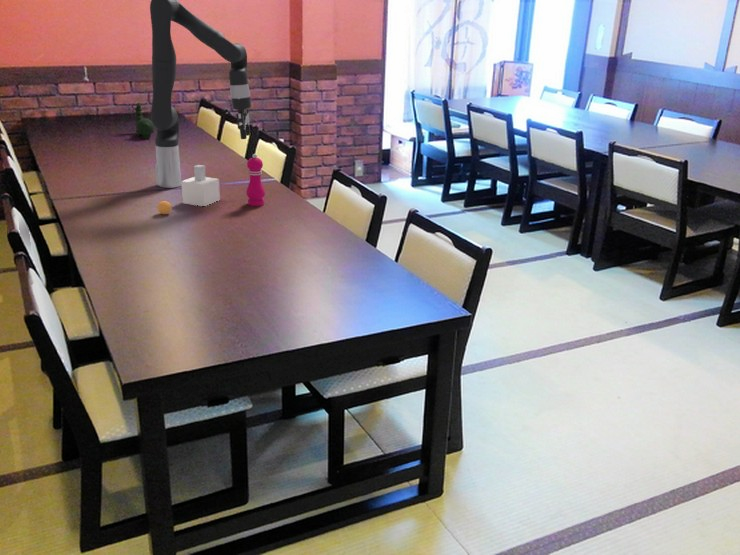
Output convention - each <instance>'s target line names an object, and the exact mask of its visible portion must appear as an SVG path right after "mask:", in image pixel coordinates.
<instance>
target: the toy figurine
mask: <svg viewBox="0 0 740 555" xmlns="http://www.w3.org/2000/svg"><path fill="white" fill-rule="evenodd" d="M134 111H135V112H134V115H135V117H134V120H135V121H136V122H135V128H136V129H135V132H136V136H138V137H142V139H144V140H149V139H151V137H152V134H153V133H154V130H155V126H154V125H153V123H152V121H151V119H149V118H147V117H146V118H145V117H144V116H143V111H142V103H140V102H137V103H136V106H135V107H134Z"/></svg>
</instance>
